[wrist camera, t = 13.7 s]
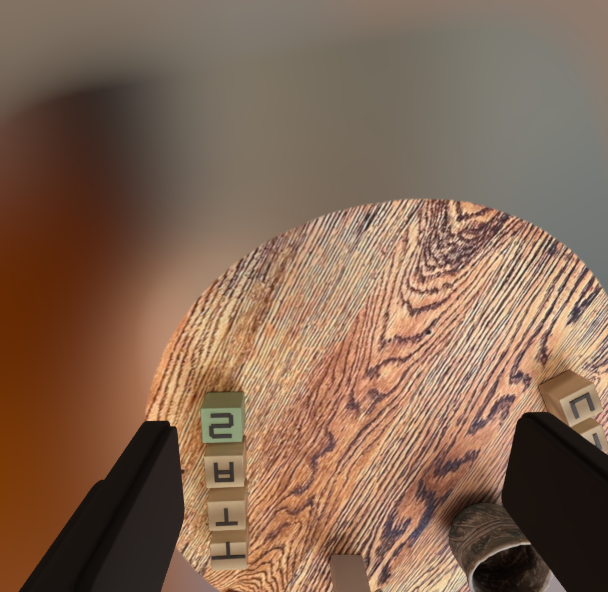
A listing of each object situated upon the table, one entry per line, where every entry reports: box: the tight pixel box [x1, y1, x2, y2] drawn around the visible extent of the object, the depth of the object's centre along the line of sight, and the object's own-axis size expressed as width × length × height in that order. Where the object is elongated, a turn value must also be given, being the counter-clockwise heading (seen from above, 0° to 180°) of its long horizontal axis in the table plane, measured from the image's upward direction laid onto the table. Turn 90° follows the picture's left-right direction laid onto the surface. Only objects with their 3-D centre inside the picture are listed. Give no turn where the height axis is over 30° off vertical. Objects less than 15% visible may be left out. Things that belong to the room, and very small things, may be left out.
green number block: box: [200, 392, 245, 443], centre depth 33 cm, size 4×4×3 cm
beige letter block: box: [210, 518, 249, 571], centre depth 37 cm, size 4×4×3 cm
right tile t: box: [207, 479, 248, 531], centre depth 36 cm, size 4×4×3 cm
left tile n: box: [571, 417, 608, 453], centre depth 37 cm, size 4×4×3 cm
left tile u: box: [538, 370, 603, 427], centre depth 35 cm, size 4×4×3 cm
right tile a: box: [204, 436, 247, 488], centre depth 35 cm, size 4×4×3 cm
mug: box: [449, 503, 553, 592], centre depth 36 cm, size 10×12×10 cm
